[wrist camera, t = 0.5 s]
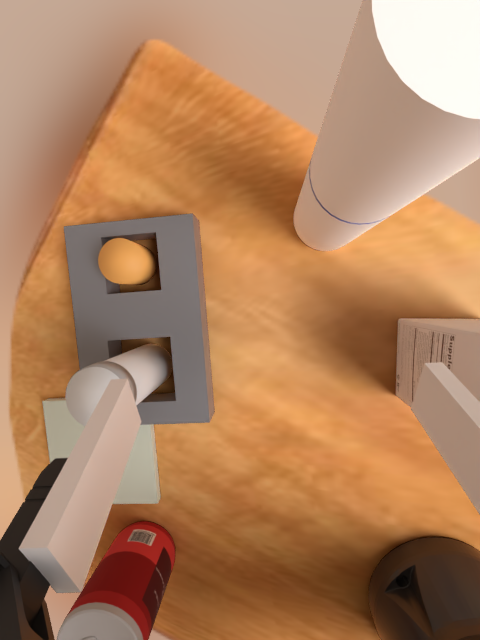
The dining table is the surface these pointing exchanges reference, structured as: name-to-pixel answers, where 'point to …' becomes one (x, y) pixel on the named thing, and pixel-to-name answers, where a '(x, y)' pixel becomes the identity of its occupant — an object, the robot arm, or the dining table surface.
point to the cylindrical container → (393, 117)
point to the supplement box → (437, 352)
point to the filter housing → (147, 310)
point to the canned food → (124, 587)
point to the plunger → (126, 262)
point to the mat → (141, 464)
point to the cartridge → (135, 365)
